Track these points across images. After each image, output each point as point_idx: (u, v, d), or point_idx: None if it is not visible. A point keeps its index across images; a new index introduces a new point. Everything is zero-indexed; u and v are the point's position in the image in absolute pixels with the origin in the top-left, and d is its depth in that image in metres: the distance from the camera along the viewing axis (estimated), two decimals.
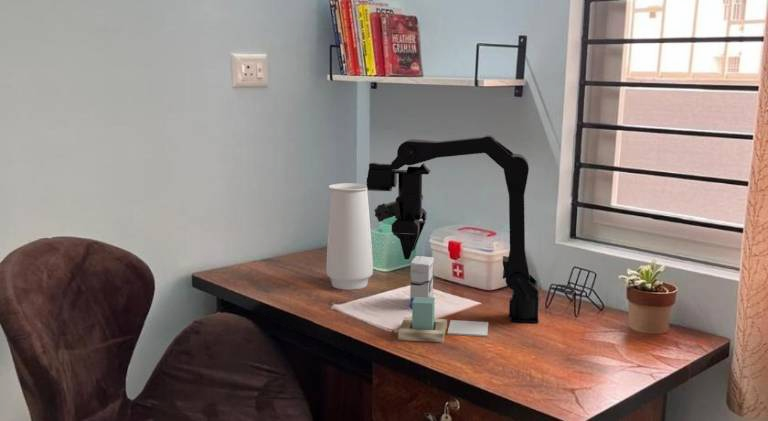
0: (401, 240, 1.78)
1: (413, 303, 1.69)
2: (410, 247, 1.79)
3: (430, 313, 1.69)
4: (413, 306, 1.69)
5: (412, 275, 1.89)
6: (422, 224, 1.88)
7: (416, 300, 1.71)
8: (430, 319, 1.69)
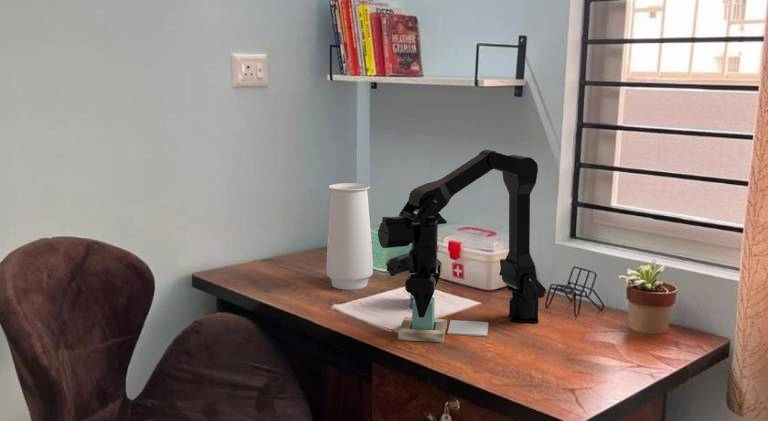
0: (415, 297, 1.64)
1: (413, 303, 1.69)
2: (425, 305, 1.65)
3: (430, 313, 1.69)
4: (413, 306, 1.69)
5: None
6: (437, 277, 1.75)
7: None
8: (430, 319, 1.69)
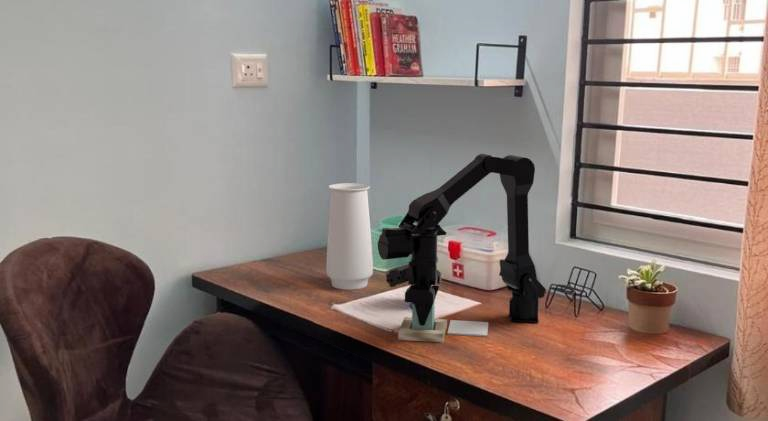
0: (416, 306, 1.67)
1: None
2: (426, 313, 1.68)
3: (430, 313, 1.69)
4: (413, 306, 1.69)
5: None
6: (436, 290, 1.73)
7: None
8: (430, 319, 1.69)
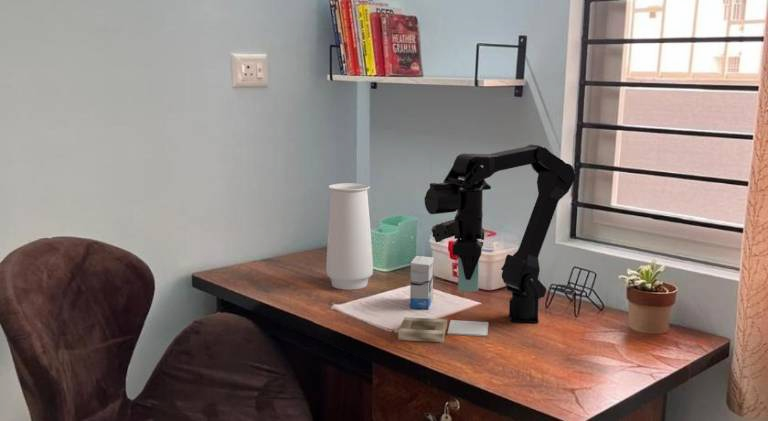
0: (463, 260, 1.68)
1: (459, 257, 1.70)
2: (472, 267, 1.69)
3: (476, 267, 1.70)
4: (459, 260, 1.71)
5: (412, 275, 1.89)
6: None
7: None
8: (476, 273, 1.70)
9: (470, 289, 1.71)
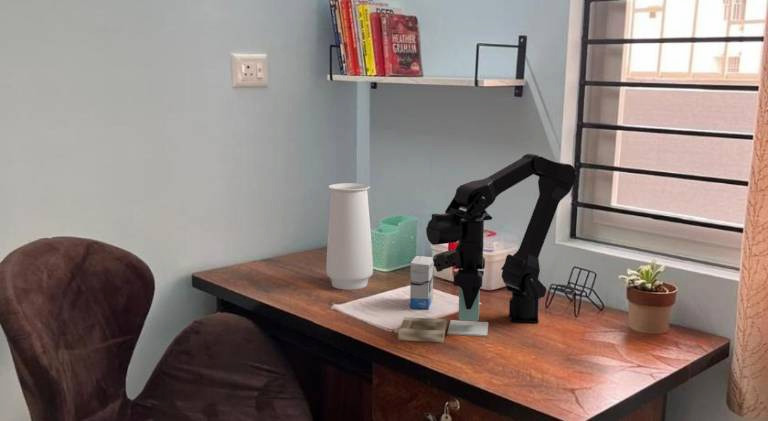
0: (463, 290, 1.70)
1: (460, 287, 1.72)
2: (472, 297, 1.70)
3: (477, 297, 1.71)
4: (460, 290, 1.72)
5: (412, 275, 1.89)
6: None
7: None
8: (476, 303, 1.72)
9: (470, 318, 1.73)
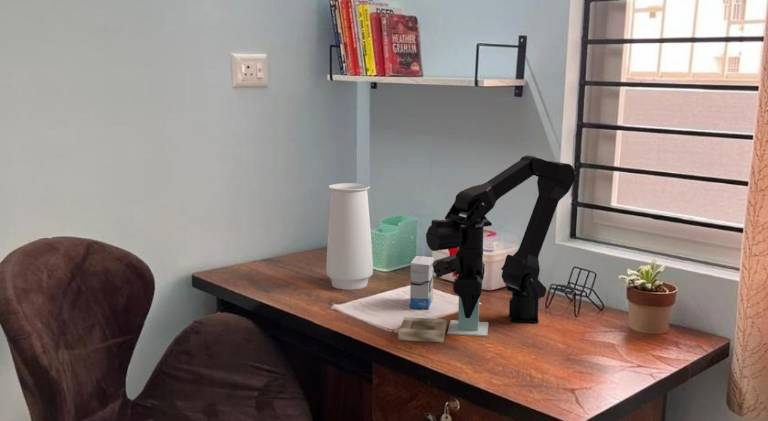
0: (462, 298, 1.68)
1: (459, 297, 1.72)
2: (472, 306, 1.69)
3: (476, 307, 1.72)
4: (459, 300, 1.72)
5: (412, 275, 1.89)
6: (481, 278, 1.78)
7: None
8: (476, 313, 1.72)
9: (470, 328, 1.73)
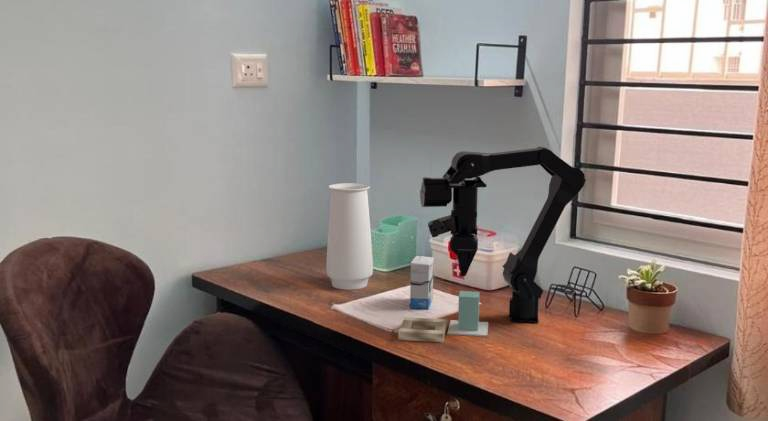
0: (458, 256, 1.72)
1: (459, 297, 1.72)
2: (467, 264, 1.73)
3: (476, 307, 1.72)
4: (459, 300, 1.72)
5: (412, 275, 1.89)
6: None
7: (462, 294, 1.74)
8: (476, 313, 1.72)
9: (470, 328, 1.73)
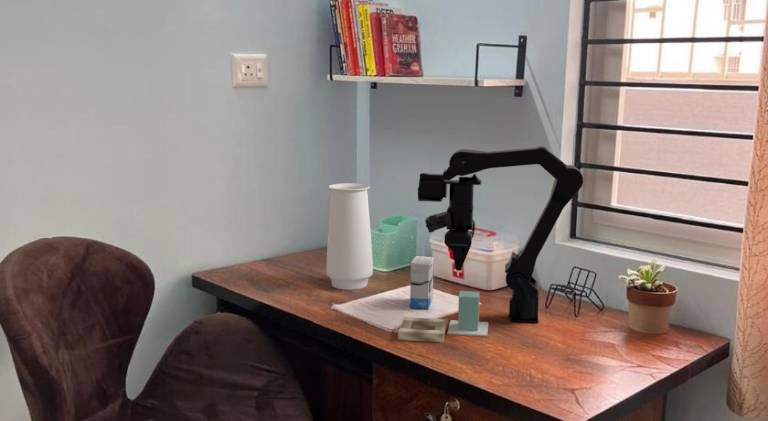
0: (453, 251, 1.77)
1: (459, 297, 1.72)
2: (462, 258, 1.77)
3: (476, 307, 1.72)
4: (459, 300, 1.72)
5: (412, 275, 1.89)
6: (472, 234, 1.87)
7: (462, 294, 1.74)
8: (476, 313, 1.72)
9: (470, 328, 1.73)
